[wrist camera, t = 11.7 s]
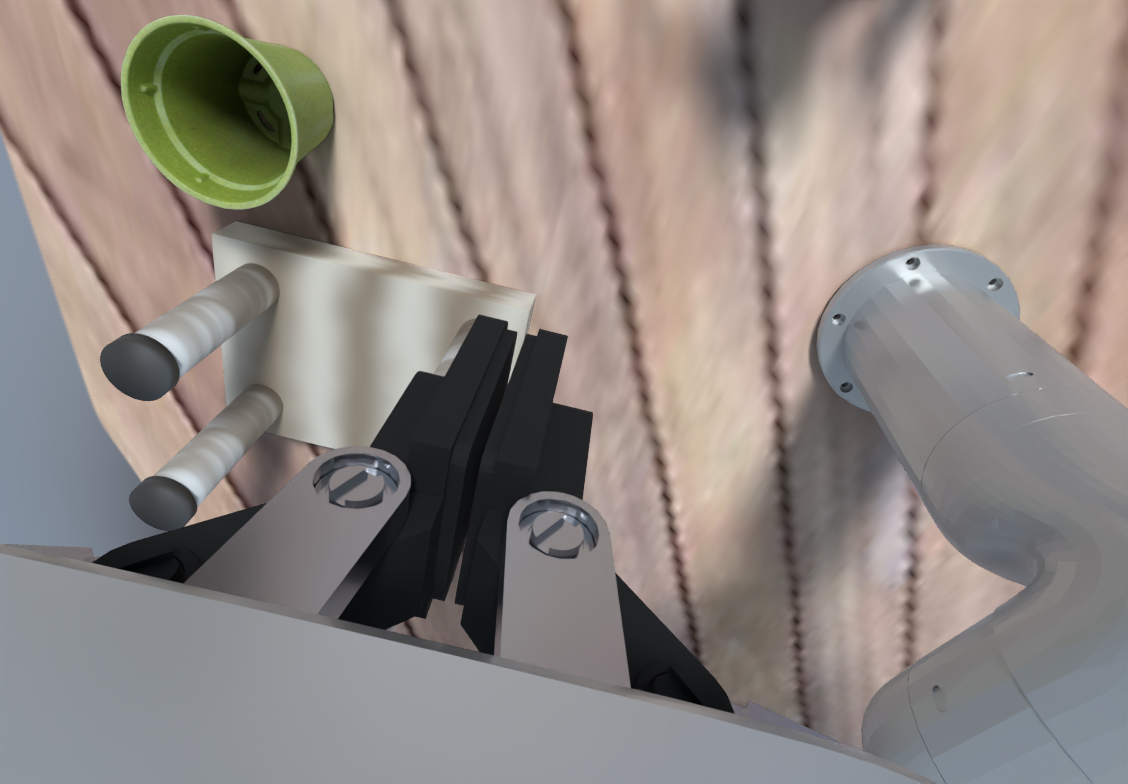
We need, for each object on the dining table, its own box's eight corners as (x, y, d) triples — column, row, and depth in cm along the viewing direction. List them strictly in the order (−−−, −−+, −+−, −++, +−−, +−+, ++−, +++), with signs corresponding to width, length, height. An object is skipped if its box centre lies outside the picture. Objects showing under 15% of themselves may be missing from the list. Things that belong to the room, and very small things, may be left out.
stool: (535, 294, 45) (491, 410, 32) (500, 464, 54) (454, 611, 41) (236, 221, 45) (66, 307, 32) (248, 403, 53) (118, 532, 40)
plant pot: (298, 203, 44) (228, 242, 36) (187, 83, 40) (86, 99, 33) (390, 116, 40) (333, 140, 33) (277, -24, 37) (185, -33, 29)
